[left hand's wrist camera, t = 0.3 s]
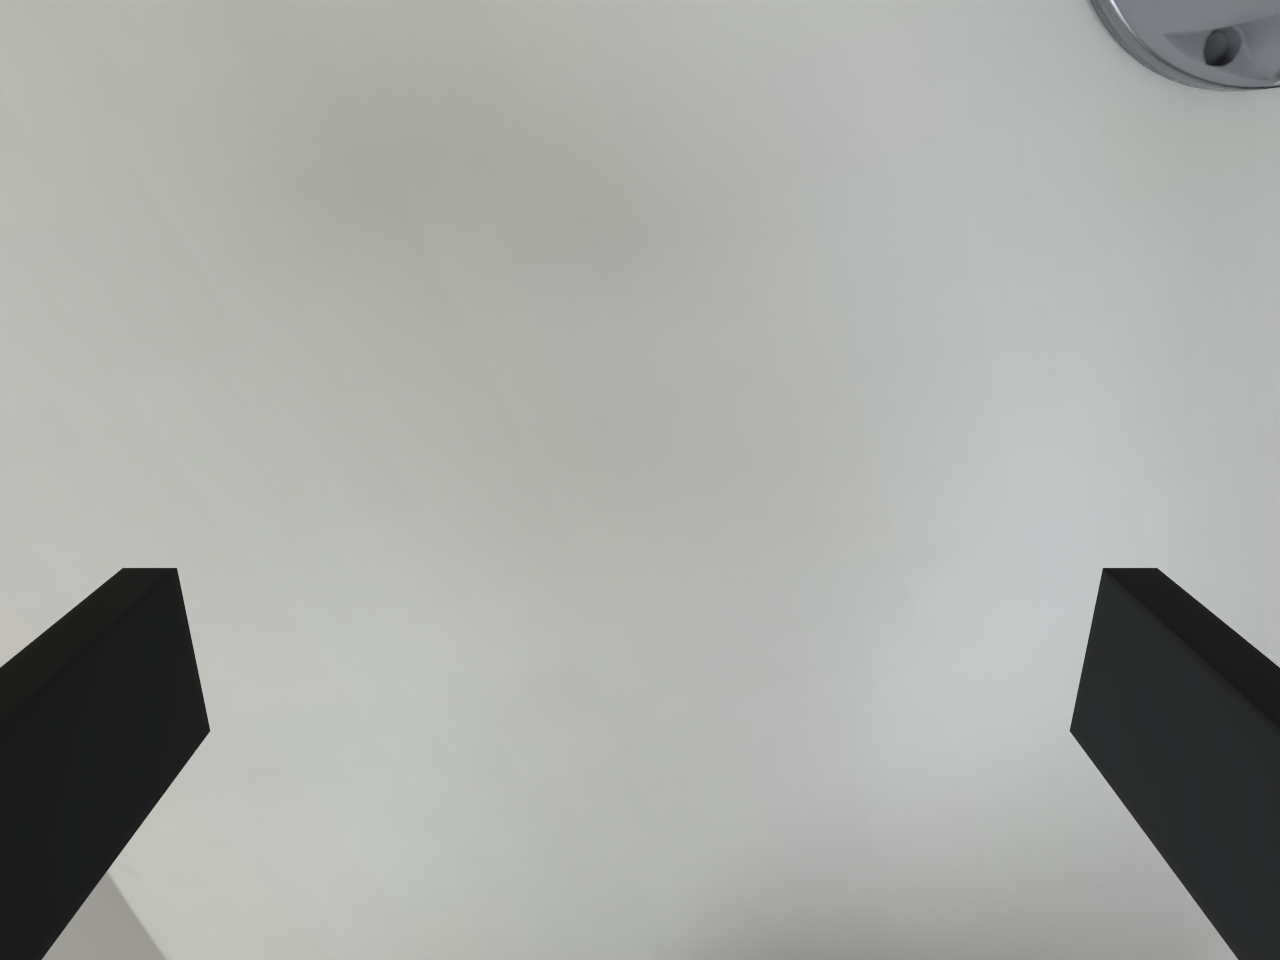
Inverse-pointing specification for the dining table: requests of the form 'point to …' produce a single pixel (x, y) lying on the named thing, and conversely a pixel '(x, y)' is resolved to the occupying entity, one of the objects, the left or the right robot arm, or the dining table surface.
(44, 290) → the dining table surface
